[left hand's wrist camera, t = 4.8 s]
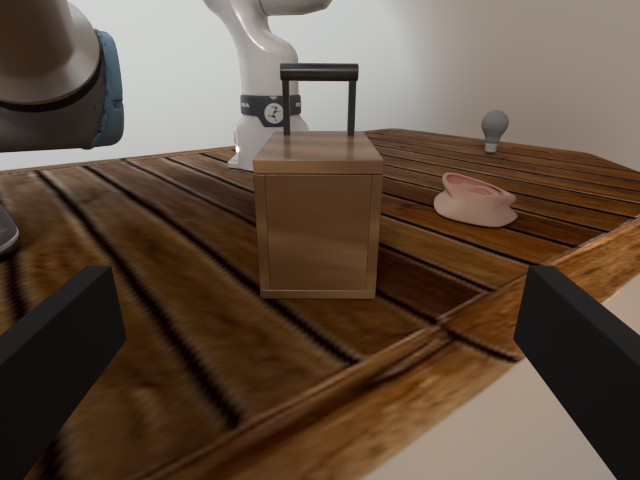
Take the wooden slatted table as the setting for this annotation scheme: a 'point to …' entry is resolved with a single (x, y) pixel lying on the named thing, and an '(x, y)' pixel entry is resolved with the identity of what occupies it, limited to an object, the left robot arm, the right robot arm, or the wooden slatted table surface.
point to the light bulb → (494, 129)
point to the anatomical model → (474, 202)
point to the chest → (318, 235)
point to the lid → (318, 133)
